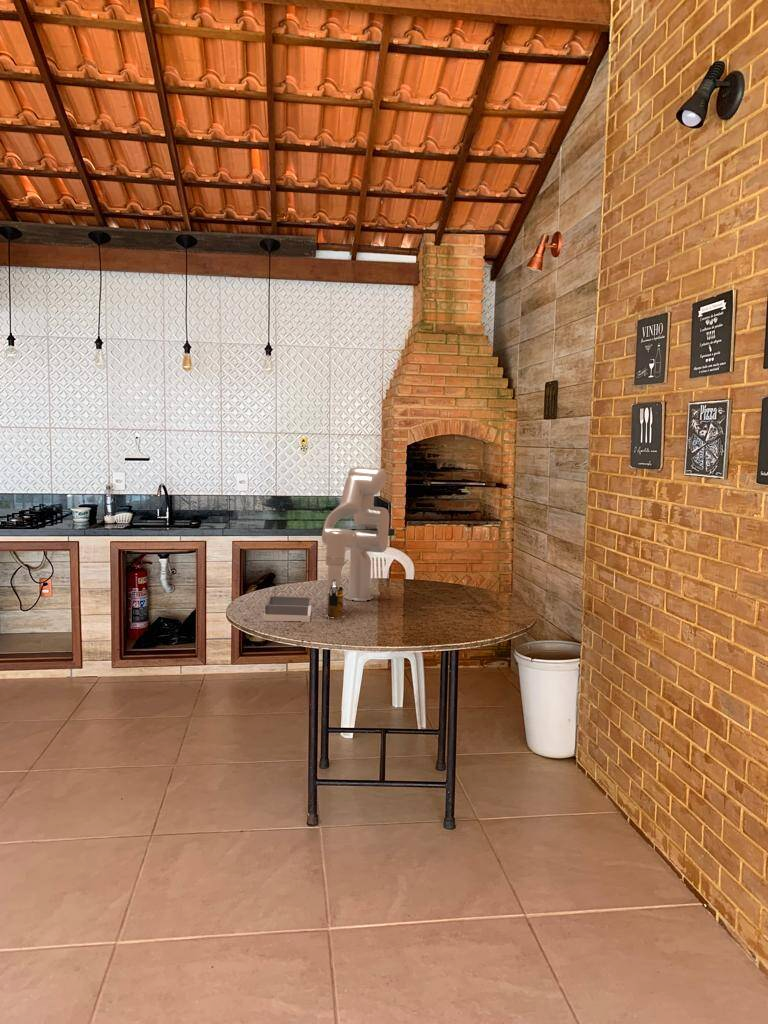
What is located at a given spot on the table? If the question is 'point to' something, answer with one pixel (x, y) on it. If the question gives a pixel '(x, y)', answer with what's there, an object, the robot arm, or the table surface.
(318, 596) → the table surface
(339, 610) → the condiment
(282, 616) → the dock
